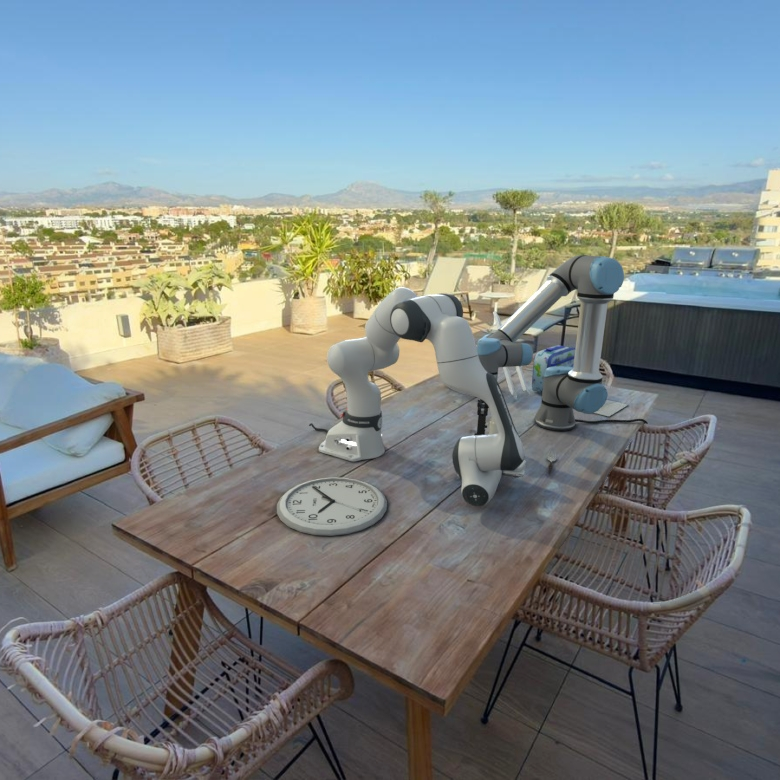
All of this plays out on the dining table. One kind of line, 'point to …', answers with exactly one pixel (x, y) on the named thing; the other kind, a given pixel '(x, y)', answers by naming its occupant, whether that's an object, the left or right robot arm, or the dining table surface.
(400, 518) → the dining table surface
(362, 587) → the dining table surface
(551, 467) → the fork
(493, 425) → the bottle
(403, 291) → the left robot arm
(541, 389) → the lunch box
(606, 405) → the invitation card
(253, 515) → the dining table surface
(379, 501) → the wall clock
